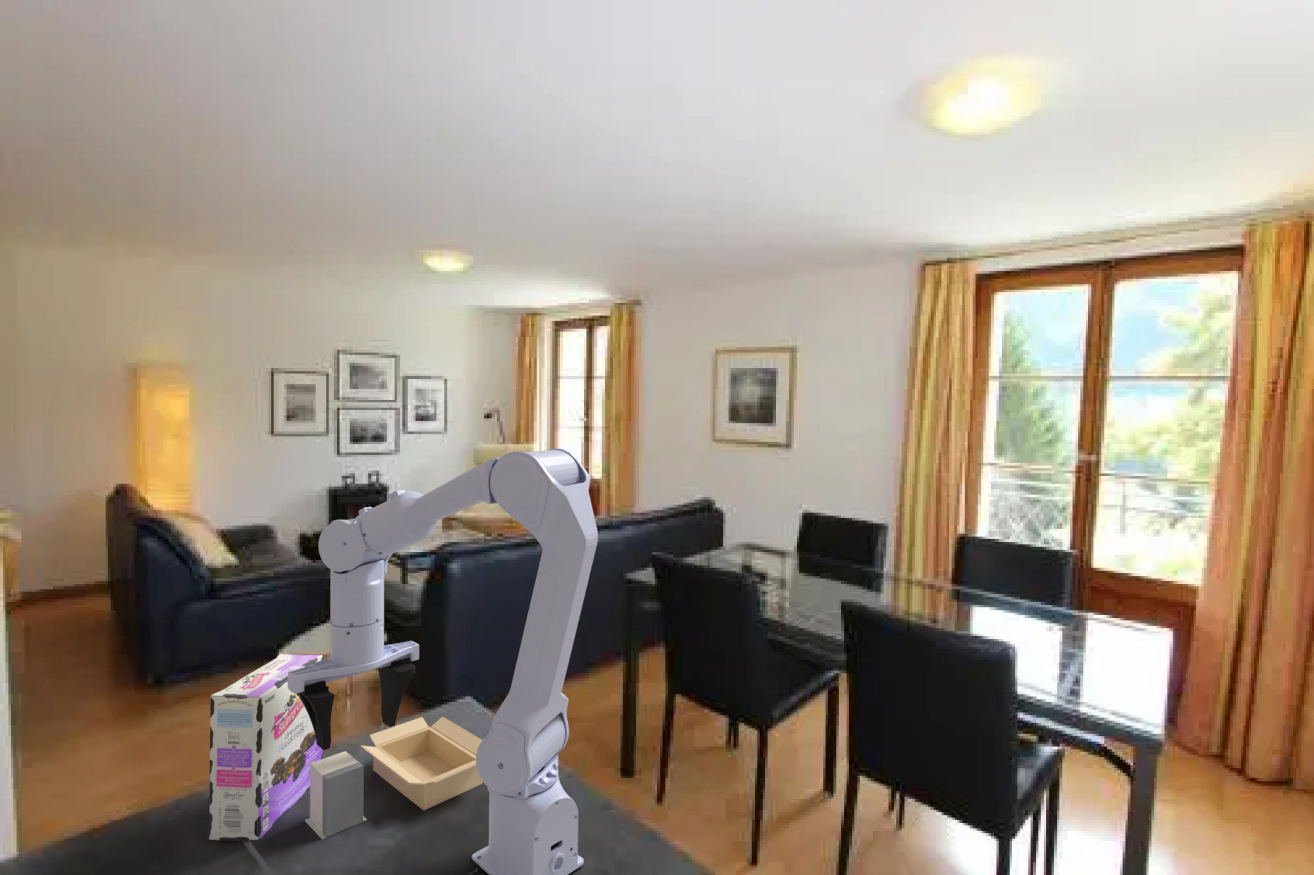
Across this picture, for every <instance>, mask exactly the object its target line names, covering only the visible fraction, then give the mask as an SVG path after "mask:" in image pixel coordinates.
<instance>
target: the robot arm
mask: <svg viewBox="0 0 1314 875" xmlns="http://www.w3.org/2000/svg"><path fill="white" fill-rule="evenodd" d="M591 478H592V477H591V475H590V474H589V473H588V472H587V470H586V469H585V467H584V466H583V464H582V463H581V462H580V460H579V459H578V457H577V456H575V455H574V453H572V452H571V451H569V450H567V449H564V448H557V447H556V448H550V449H549V448H548V449H547V450H534V451H524V450H523V451H521V450H514V451H509V452H508V453H505V454H503V455H502V456H501V457H494V458H491V459H487V460H486V461H484V462H482V463H479V464H478V465H477V466H474V467H473V468H471V469H469V470H467V471H466V472H464V473H462V474H460V475H458V476H456V477H455V478H453V479H451V480H449V481H447V482H446V483H443V484H442V485H440V486H438V487H436V488H434V489H432V490H431V491H429V492H428V493H426V494H423V493H421V492H418V491H416V490H408V491H406V490H405V489H399V490H395V491H393V492H392V491H391V493H389V494H388V497H389V500H387V501H385V502H383V503H380V504H379V505H376V506H375V507H374V506H373V507H372V506H369V507H363V508H361V509H359V510H358V515H357V516H356V517H355V518H351V519H335V520H332V521H331V523H330V524H328V525H326V527H324V529H323V530H322V531H321V533H320V535H319V539H318V553H319V556H320V559H321V561H322V562H323V564H324V565H325V566H326V568H328V569H330V603H329V604H330V622H329V623H330V628H329V629H330V630H329V631H330V639H329V640H330V648H329V649H330V652H329V653H330V656H329V657H326V658H324V659H323V660H321V661H318V662H316V663H313V664H311V665H308V666H306V667H303V668H300V669H297V670H293V671H290V672H288V689H289V690H290V691H291V692H293V693H294V694H296V693H297V695H298V696H299V698H300V699H301V701H302V703H303V705H304V707H305V709H306V711H307V713H308V715H309V717H310V720H311V723H312V726H313V729H314V733H315V737H316V743H317V745H318V746H319V747H320V748H321V749H322V751H325V750H329V749H331V746H332V726H331V724H332V723H331V721H332V711H333V705H334V701H335V700H334V699H335V693H332V692H331V691H329V688H330V687H329V686H328V685H327V683H331V682H333V681H338V680H341V679H344V678H348V677H352V676H356V675H359V674H363V673H364V674H365V673H367V672H369V671H370V672H371V671H373V670H377V669H378V675H379V683H380V694H381V696H380V698H381V699H380V700H381V701H380V703H381V704H380V705H381V706H380V713H381V715H380V716H381V723H383V724H384V725H385V726H387V727H389V728H392V727H394V726H396V722H397V718H398V714H399V711H400V707H401V704H402V700H403V698H404V695H405V693H406V691H407V688H408V687H409V685H410V683H411V681H412V680H413V678H414V677H415V675H416V665H414V664H413V663H411V662H414V661H418V660H419V659H420V644H419V643H417V642H415V641H413V640H409V641H404V642H399V643H393V644H386V645H385V640H384V639H385V634H384V632H385V630H384V629H385V576H386V573H387V572H388V562H389V560H390V558H391V557H392V555H393V554H395V553H397V552H399V551H401V550H403V549H406V548H408V547H411V546H412V545H414V544H417V543H419V542H421V541H424V540H425V539H427V538H429V537H431V536H433V534H434V532H435V531H436V528H437V524H438V521H439V520H442V519H445V518H448V517H449V516H452V515H454V514H455V515H456V514H457V513H459V512H461V511H464V510H466V509H469V508H471V507H474V506H476V505H478V504H481V503H483V502H484V503H485V504H487V505H493V504H497V505H498V506H499V507H500V508H501V509H502V510H503V511H504V512H505V513H507V514H508V515H509V516H510V517H511V518H512V519H514V521H516V522H517V523H518V524H520V525H521V526H522V527H523V528H524V529H526V530H527V531H528V532H529V533H530V534H532V535H533V536H534V538H535V539H536V540H537V542H538V543H539V545H540V546H541V548H542V550H541V555H540V556H541V557H540V560H539V564H538V569H537V572H536V573H537V574H536V579H535V583H534V586H533V590H532V595H531V598H530V599H531V600H530V604H529V609H528V612H527V615H526V616H527V617H526V621H525V625H524V629H523V633H522V637H521V642H520V646H519V651H518V655H517V660H516V664H515V668H514V673H513V677H512V681H511V686H510V688H509V692H508V694H507V695H506V697H505V699H504V701H502V703H501V705H500V706H499V708H498V710H497V711H496V713H495V714H494V716H493V718H492V722H491V726H490V729H489V731H488V733H487V735H486V736H485V737H484V738H483V739H482V741H481V743H480V745H479V747H478V749H477V753H476V766H477V770H478V773H479V775H480V777H481V779H482V781H483V784H485V785H486V787H487V792H489V794H488V796H489V798H488V799H489V800H488V801H489V802H488V803H489V806H488V809H489V810H488V811H489V812H488V813H489V815H488V845H486V846H485V847H482V849H479V850H478V851H476V852H475V853H473V854H471V859H472V861H473V862H474V863H476V864H477V865H478V866H479V867H480V868H481V870H483V871H484V872H486V873H487V874H488V875H569V874H571V873H572V872H574V871H576V870H577V869H579V868H580V867H582V866H583V865H584V858H583V857H581V856H580V855H579V809H578V806H577V804H576V802H575V801H574V799H573V798H572V797H570V795H568V793H567V792H566V791H565V790H564V788H563V785H562V784H561V782H560V778H559V753H560V752H561V751H562V750H563V749H564V748H565V746H566V745H567V743H568V741H569V736H570V727H569V720H568V718H567V717H568V715H567V713H568V712H567V711H568V705H569V702H570V700H569V698H568V697H567V696H566V694H564V693H563V688H564V683H565V678H566V675H567V671H568V667H569V663H570V658H571V655H572V654H571V653H572V650H573V645H574V641H575V637H576V634H577V629H578V624H579V621H580V616H581V612H582V608H583V604H584V599H585V596H586V590H587V587H588V584H589V579H590V574H591V571H592V566H593V562H594V558H595V554H596V550H597V546H598V538H599V535H598V533H599V532H598V527H597V524H596V519H595V514H594V510H593V504H592V501H591V497H590V493H589V492H590V491H589V489H590V485H591V480H592V479H591Z"/></svg>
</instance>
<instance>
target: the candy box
mask: <svg viewBox="0 0 1314 875" xmlns="http://www.w3.org/2000/svg"><path fill="white" fill-rule="evenodd" d="M323 658H324V657H323V654H287V653H286V654H284V653H281V654H278V655H277V656H276V658H274V659H272V660H271V661H268V662H267V663H265V664H264V665H262V666H260V667H259V668H257V669H255V670H254V671H251V672H249V674H246V675H244V676H243V677H242V678H240V679H238V680H236V681H234V682H233V683H231V684H230V685H228V686H227V687H225V688H223V689H221V690H219V691H218V692H215V693H213V694H211V695H210V704H209V706H210V707H209V708H210V716H209V718H210V719H209V724H210V725H209V793H208V794H209V796H208V798H209V804H208V805H209V806H208V808H209V810H208V811H209V812H208V814H209V815H208V818H209V819H208V840H210V841H211V840H212V841H232V842H233V841H234V842H235V841H236V842H250V843H251V841H256V840H257V841H258V840H259V839H261V838H262V837H263V836H264V835H265V834H266V833H267V832H268V831H269V830H270V829H271V828H272V827H273V826H274V825H275V824H276V823H277V822H278V821H279V820H280V819H281V818H282V817H283V816H284V815H285V814H286V813H287V812H288V811H289V810H290V809H291V808H292V806H294V804H296V803H297V802H298V800H299V799H300V798H302V796H303V795H304V794H306V792H308V790H310V763H313V762H315V761H318V760H321V759H323V749H321V748H320V747H319V746H318V745H317V743H316V737H315V733H314V729H313V726H312V723H311V720H310V717H309V715H308V713H307V711H306V709H305V707H304V705H303V703H302V701H301V699H300V698H299V696H298V695H297V693H296V694H294V693H293V692H291V691H290V690H289V689H288V672H290V671H293V670H297V669H300V668H303V667H306V666H308V665H311V664H313V663H316V662H318V661H321V660H323Z"/></svg>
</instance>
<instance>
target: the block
mask: <svg viewBox="0 0 1314 875" xmlns="http://www.w3.org/2000/svg"><path fill="white" fill-rule="evenodd" d="M364 767H365V766H364V764H362V763H361V762H360V761H358V760H357V759H355V758H354V757H353V756H352V755H351V754H350V753H348V752H347V751H346V750H345V751H342V752H339V753H336V754H334V755H331V756H328V757H325V758H324V757H323V758H322V759H321V760H318V761H315V762H313V763H310V788H309V818H310V819H311V820H312V821H313V822H314V823H315V825H316V826H317V827H318V828H319V829H320V830H321V831H322V833H323V834H324V835H325V836H326V838H329V837H330V836H333V835H335V834H339V833H340V832H342V831H345V830H347V829H350V828H351V827H354V826H357V825H359V824H361V823H364V821H363V816H364V780H365V779H364V772H365V771H364V770H365V768H364Z"/></svg>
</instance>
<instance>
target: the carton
mask: <svg viewBox="0 0 1314 875" xmlns="http://www.w3.org/2000/svg"><path fill="white" fill-rule="evenodd" d="M369 738H370V739H371V741H372V743H373V744H374V746H370V745H369V746H368V745H362V744H361V745H359V746H360V748H361V749H363V751H365V752H367V753H368V754H369V755H371V757H372V759H373V762H372V767H373V769H372V770H373V771H374V772H375V773H376V774H377V775H378V776H380V777H381V778H382V779H383V780H384V781H386V782H387V783H388V784H390V785H391V786H392V787H393V788H394V789H396V790H397V791H398V792H399V793H401V794H402V795H403V796H405V798H407V799H408V800H409V801H411V802H412V803H413V804H415V805H416V806H417V807H418V808H420V809H421V810H422V811H426V810H429V809H431V808H433V807H435V806H437V805H440V804H441V803H443V802H446V801H448V800H450V799H453V798H454V797H456V796H457V797H458V796H460V795H461V794H463V793H465V792H468V791H470V790H472V789H475V788H476V787H478V786H479V787H480V786H481V785H483V784H484V782H483V781H482V779H481V777H480V775H479V773H478V770H477V766H476V753H477V749H478V747H479V745H480V743H481V741H482V740H483V739H482V738H480V737H478V736H476V735H475V734H474V733H472V732H469V731H468V730H466V729H465V728H464V727H461V726H459V725H458V724H456V723H455V722H452V721H451V720H449V719H447V718H446V717H445V716H441V717H440V718H439V719H438V720H437V721H436V722H435V723H434V724H432V725H431V726H429V725H428V723H427V721H426V720H425V718H423V716H421V717H418V718H415V719H412V720H410V721H406V722H403V723H401V724H397V725H395V726H392V727H389V728H386V729H384V730H383V729H382V730H380V731H377V732H375V733H372V734H369Z"/></svg>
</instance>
